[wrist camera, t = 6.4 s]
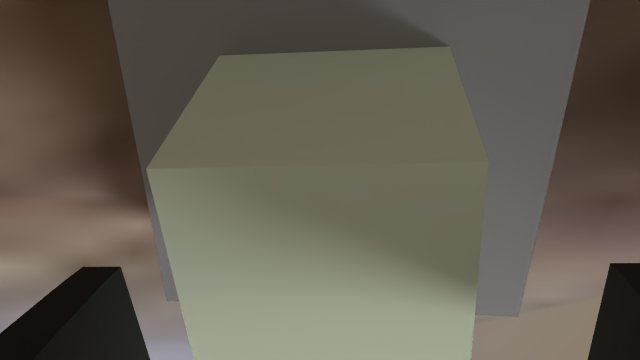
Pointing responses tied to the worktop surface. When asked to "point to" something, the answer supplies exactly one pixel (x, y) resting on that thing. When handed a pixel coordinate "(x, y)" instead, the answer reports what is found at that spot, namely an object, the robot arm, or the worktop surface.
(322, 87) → the sage block
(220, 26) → the charcoal plinth
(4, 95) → the worktop surface
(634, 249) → the worktop surface
